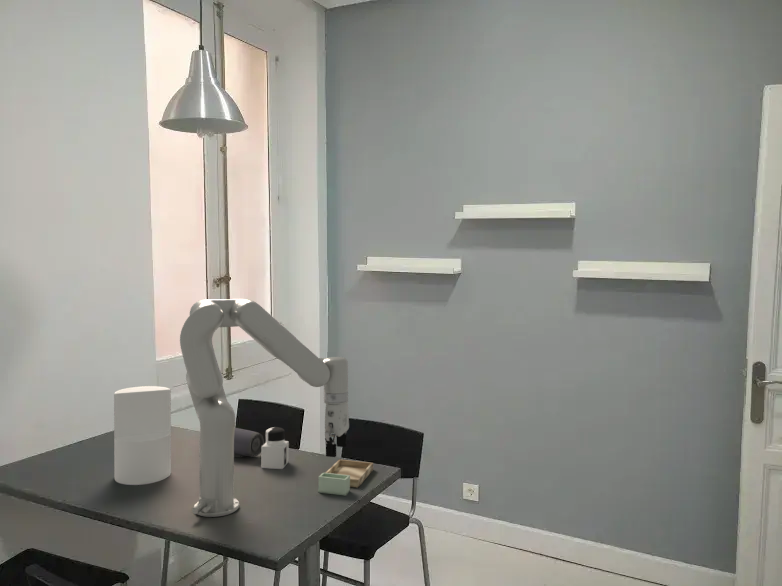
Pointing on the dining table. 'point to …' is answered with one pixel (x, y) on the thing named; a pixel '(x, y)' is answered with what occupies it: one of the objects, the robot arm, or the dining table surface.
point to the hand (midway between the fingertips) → (336, 451)
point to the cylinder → (142, 435)
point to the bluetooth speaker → (247, 443)
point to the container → (275, 449)
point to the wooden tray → (352, 470)
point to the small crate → (334, 484)
